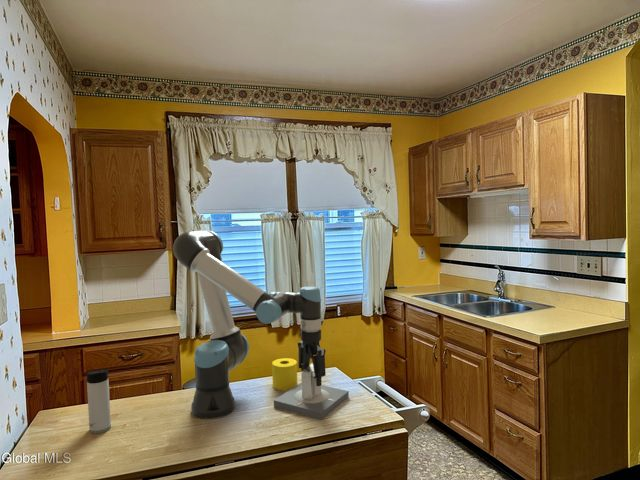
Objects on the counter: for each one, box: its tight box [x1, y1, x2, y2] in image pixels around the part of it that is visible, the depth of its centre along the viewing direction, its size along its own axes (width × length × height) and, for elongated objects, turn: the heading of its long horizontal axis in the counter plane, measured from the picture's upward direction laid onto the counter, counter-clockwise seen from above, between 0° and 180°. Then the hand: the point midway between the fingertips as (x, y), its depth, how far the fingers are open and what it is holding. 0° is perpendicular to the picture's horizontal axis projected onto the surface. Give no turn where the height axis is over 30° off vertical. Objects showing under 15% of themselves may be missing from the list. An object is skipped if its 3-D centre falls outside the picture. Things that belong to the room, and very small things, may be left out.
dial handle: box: [301, 362, 316, 400], centre depth 159 cm, size 10×4×10 cm, turn 158°
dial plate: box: [273, 382, 350, 421], centre depth 159 cm, size 20×20×3 cm
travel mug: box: [86, 368, 112, 435], centre depth 141 cm, size 6×7×20 cm
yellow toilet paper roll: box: [271, 357, 298, 391], centre depth 175 cm, size 10×10×9 cm
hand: (312, 390), depth 159 cm, fingers closed on dial handle, 6 cm apart
